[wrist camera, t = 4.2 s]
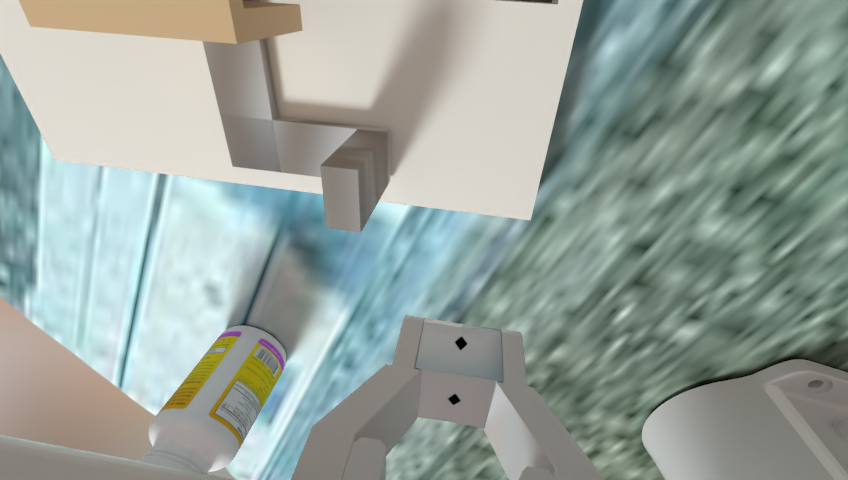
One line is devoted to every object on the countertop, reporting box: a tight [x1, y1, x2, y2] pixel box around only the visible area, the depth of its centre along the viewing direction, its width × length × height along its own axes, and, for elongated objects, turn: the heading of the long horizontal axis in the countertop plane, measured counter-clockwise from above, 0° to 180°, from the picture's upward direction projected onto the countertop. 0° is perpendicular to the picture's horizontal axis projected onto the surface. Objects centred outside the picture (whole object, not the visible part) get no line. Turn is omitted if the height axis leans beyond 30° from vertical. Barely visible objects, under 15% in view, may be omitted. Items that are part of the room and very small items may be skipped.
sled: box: [202, 0, 390, 232], centre depth 16 cm, size 10×15×6 cm
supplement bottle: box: [139, 325, 286, 474], centre depth 32 cm, size 7×7×13 cm
